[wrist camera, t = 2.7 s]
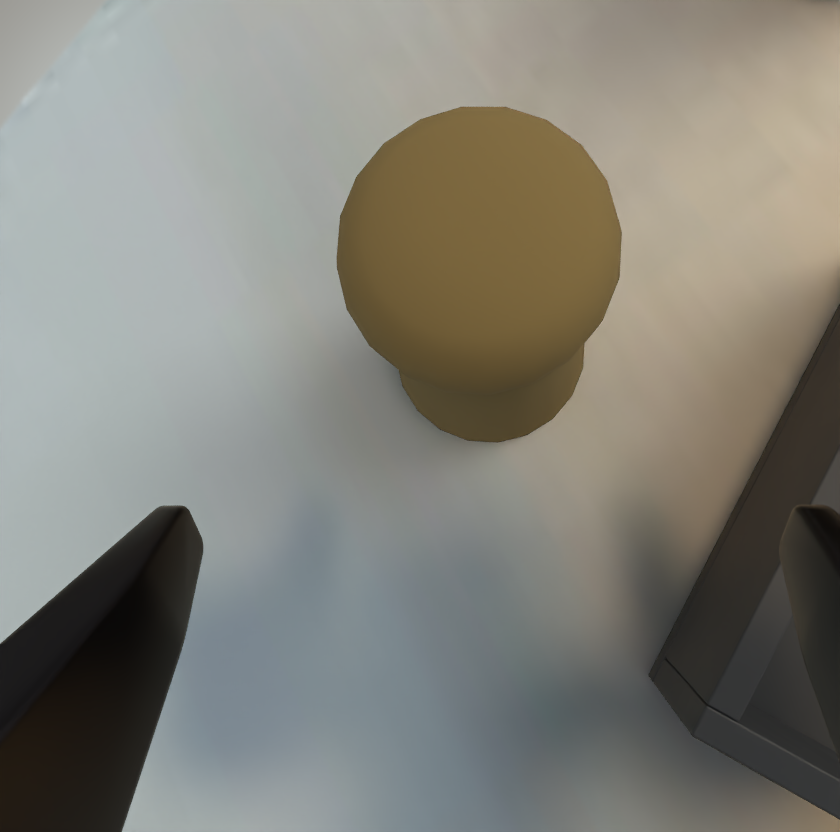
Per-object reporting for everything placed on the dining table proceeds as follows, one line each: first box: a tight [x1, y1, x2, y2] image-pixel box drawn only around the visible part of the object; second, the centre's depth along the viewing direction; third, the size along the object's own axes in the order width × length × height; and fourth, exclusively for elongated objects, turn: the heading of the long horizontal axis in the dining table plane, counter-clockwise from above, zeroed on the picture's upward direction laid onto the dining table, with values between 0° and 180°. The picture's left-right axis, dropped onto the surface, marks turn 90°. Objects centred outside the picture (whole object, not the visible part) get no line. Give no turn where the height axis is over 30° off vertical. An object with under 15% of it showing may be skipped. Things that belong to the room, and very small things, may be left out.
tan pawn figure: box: [337, 107, 622, 442], centre depth 16 cm, size 6×6×11 cm
